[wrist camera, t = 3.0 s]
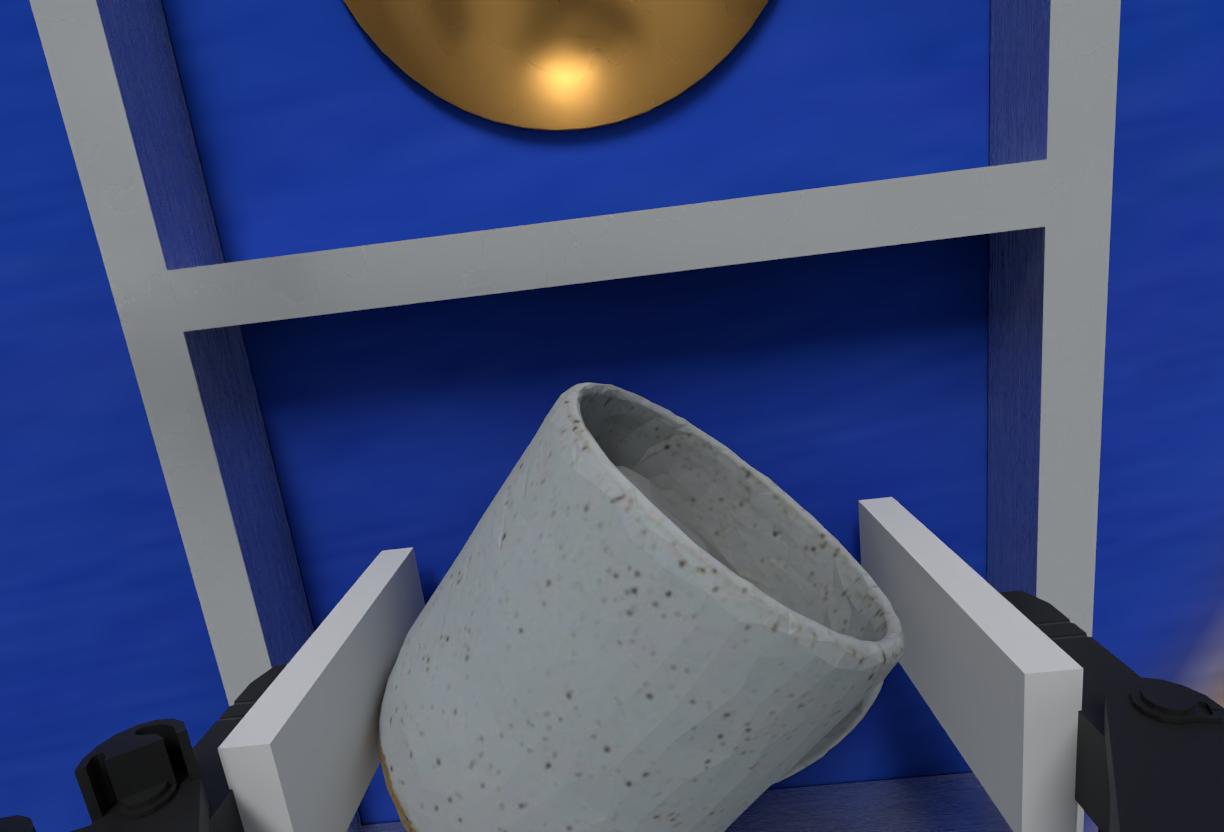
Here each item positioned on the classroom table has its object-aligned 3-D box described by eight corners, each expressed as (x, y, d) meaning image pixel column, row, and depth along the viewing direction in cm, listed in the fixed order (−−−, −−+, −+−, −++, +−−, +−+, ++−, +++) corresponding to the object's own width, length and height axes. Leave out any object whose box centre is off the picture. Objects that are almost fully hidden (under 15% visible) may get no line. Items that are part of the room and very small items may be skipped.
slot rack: (328, 864, 19) (294, 934, 17) (-53, -594, 12) (-187, -763, 10) (1031, 805, 18) (1081, 872, 16) (1071, -808, 11) (1168, -1040, 9)
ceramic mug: (413, 611, 17) (264, 878, 10) (581, 349, 15) (550, 438, 8) (744, 797, 18) (829, 1154, 11) (931, 573, 17) (1172, 821, 9)
